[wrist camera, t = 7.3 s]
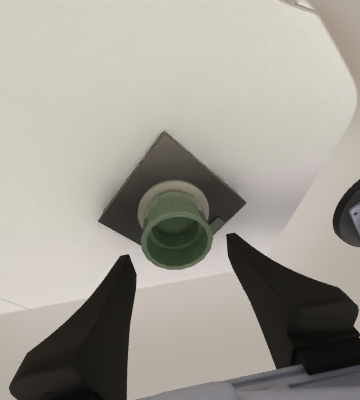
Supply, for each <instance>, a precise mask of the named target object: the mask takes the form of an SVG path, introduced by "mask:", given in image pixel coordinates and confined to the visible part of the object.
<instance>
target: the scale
mask: <svg viewBox="0 0 360 400" xmlns="http://www.w3.org/2000/svg"><path fill="white" fill-rule="evenodd" d="M170 191H178V192H184V193H186V194H189V195H191V196H192V197H194V198H195V199H196V200H197V201H198V203H199V204H200V206H201V208H202V210H203V213H204V215H205V217H206V219H207V222H208V224H209V226H210V229H211V233H212V236H213V235H214V234H215V233H216V232H217V231H218V230H219V229H220V228H221V227H222V226H223V225H224V224H225V223H226V222H227V221H228V220H229V219H231V218H232V217H233V216H234V215H235V214H236V213H237V212H238V211H239V210H240V209H241V208H242V207H243V206H244V205H245V204H246V202H245V201H244V200H243V199H242V198H241V197H240V196H239V195H238V194H237V193H236V192H235V191H234V190H233V189H231V188H230V187H229V186H228V185H227V184H226V183H224V182H223V181H222V180H221V179H220V178H219V177H217V176H216V175H215V174H214V173H213V172H212V171H210V170H209V169H208V168H207V167H206V166H205V165H203V164H202V163H201V162H200V161H199V160H198V159H196V158H195V157H194V156H193V155H192V154H191V153H189V152H188V151H187V150H186V149H185V148H184V147H182V146H181V145H180V144H179V143H178V142H177V141H175V140H174V139H173V138H172V137H171V136H170V135H168V134H167V133H166V132H165V131H164V132H163V133H162V134H161V136H160V137H159V138H158V140H157V141H156V142H155V144H154V145H153V146H152V148H151V149H150V150H149V152H148V153H147V154H146V156H145V157H144V158H143V160H142V161H141V162H140V163H139V165H138V166H137V167H136V169H135V170H134V171H133V173H132V174H131V175H130V177H129V178H128V179H127V181H126V182H125V183H124V185H123V186H122V187H121V189H120V190H119V191H118V193H117V194H116V195H115V197H114V198H113V199H112V201H111V202H110V203H109V205H108V206H107V207H106V209H105V210H104V211H103V213H102V215H101V217H100V218H99V220H98V222H100V223H102V224H103V225H105V226H107V227H109V228H111V229H112V230H114V231H116V232H118V233H119V234H121V235H123V236H125V237H127V238H128V239H130V240H132V241H134V242H136V243H137V244H139V245H141V246H142V230H143V224H144V217H145V211H146V209H147V207H148V205H149V203H150V202H151V201H152V200H153V199H155V198H156V197H157V196H158V195H160V194H163V193H167V192H170Z"/></svg>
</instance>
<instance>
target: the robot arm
mask: <svg viewBox="0 0 360 400" xmlns="http://www.w3.org/2000/svg"><path fill="white" fill-rule="evenodd" d="M348 212H349V215H350V217H351V219H352V221H353V224H354V226H355V228H356V230H357V232H358V235H359V237H360V202H359V203H357V204H355V205H354V206H352V207H351V208H350V209H349V210H348ZM226 236H227V249H228V257H229V260H230V262H231V265H232V267H233V270H234V272H235V273H236V275H237V277H238V279H239V281H240V283H241V285H242V287H243V289H244V290H245V292H246V294H247V296H248V298H249V300H250V302H251V305H252V307H253V310H254V312H255V314H256V317H257V319H258V322H259V324H260V327H261V329H262V332H263V334H264V337H265V340H266V342H267V345H268V348H269V350H270V353H271V355H272V358H273V361H274V364H275V366H276V369H277V370H272V371H267V372H263V373H258V374H254V375H249V376H244V377H239V378H235V379H230V380H225V381H217V382H209V383H205V384H200V385H195V386H190V387H186V388H181V389H176V390H172V391H167V392H163V393H160V394H157V395H154V396H151V397H146V398H141V399H136V400H360V338H359V337H360V333H359V332H358V331H357V330H356V329H355V328H354V323H355V321H356V318H357V316H358V312H359V310H358V306H357V305H356V304H355V303H354V302H353V301H352V300H351V299H350V298H349V297H348V296H347V295H346V294H345V293H344V292H343V291H342V290H341V289H340V288H338V287H335V286H332V285H328V284H326V283H323V282H319V281H317V280H314V279H311V278H308V277H306V276H304V275H301V274H299V273H297V272H294V271H292V270H290V269H288V268H286V267H284V266H282V265H280V264H279V263H277V262H275V261H273V260H271V259H270V258H268V257H267V256H265V255H264V254H262V253H261V252H259V251H258V250H256V249H255V248H254V247H252V246H251V245H250V244H248V243H247V242H246V241H244V240H243V239H242V238H241V237H239V236H238V235H237V234H236V233H231V234H226ZM136 275H137V274H136V272H135V269H134V267H133V264H132V261H131V259H130V256H129V254H127V255H122V256H120V257H119V259H118V260H117V261H116V263H115V264H114V266H113V267H112V269H111V270H110V272H109V273H108V274H107V276H106V277H105V279H104V280H103V281H102V283H101V284H100V285H99V287H98V288H97V289H96V290H95V292H94V293H93V294H92V295H91V296H90V298H89V299H88V300H87V301H86V302H85V303H84V304H83V305H82V306H81V308H79V309H78V310H77V311H76V312H75V313H74V314H73V315H72V316H71V317H70V318H69V319H68V320H67V321H66V322H65V323H64V324H63V325H62V326H60V327H59V328H58V329H57V330H56V331H55V332H53V333H52V334H51V335H50V336H49V337H48V338H46V339H45V340H44V341H42V342H41V343H40V344H39V345H37V346H36V347H35V348H33V349H32V350H31V351H29V352H28V353H27V355H26V356H25V358H24V360H23V362H22V364H21V366H20V367H19V369H18V371H17V373H16V374H15V376H14V378H13V380H12V382H11V384H10V386H9V389H10V393H11V394H12V395H13V396H14V397H15V398H16V399H17V400H126V399H127V362H128V344H129V330H130V321H131V315H132V309H133V304H134V298H135V291H136Z"/></svg>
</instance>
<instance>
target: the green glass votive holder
mask: <svg viewBox="0 0 360 400" xmlns="http://www.w3.org/2000/svg"><path fill="white" fill-rule="evenodd" d="M212 240H213V236H212V233H211V229H210V226H209V224H208V222H207V219H206V217H205V215H204V213H203V210H202V208H201V206H200V204H199V203H198V201H197V200H196V199H195V198H194V197H192V196H191V195H189V194H186V193H184V192H178V191H170V192H167V193H163V194H160V195H158V196H157V197H156V198H155V199H153V200H152V201H151V202H150V203H149V205H148V207H147V209H146V211H145V217H144V224H143V230H142V250H143V252H144V254H145V256H146V258H147V259H148V260H149V261H151V262H152V263H153V264H154V265H156V266H158V267H161V268H165V269H169V270H181V269H185V268H188V267H191V266H193V265H195V264H197V263H198V262H200V261H201V260H203V259H204V258H205V256H206V255H207V253H208V252H209V251H210V249H211V245H212Z"/></svg>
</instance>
